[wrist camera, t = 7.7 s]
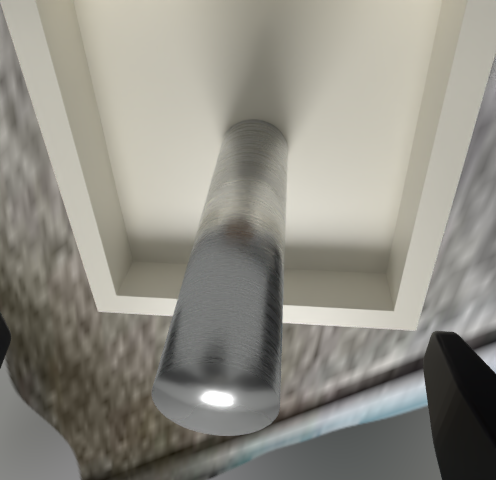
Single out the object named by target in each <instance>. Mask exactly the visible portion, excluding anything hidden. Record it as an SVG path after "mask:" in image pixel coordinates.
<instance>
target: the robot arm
mask: <svg viewBox="0 0 496 480" xmlns="http://www.w3.org/2000/svg"><path fill="white" fill-rule="evenodd" d="M10 341H11V333H10V330H9V328H8V326H7V324H6V322H5V320H4V318H3V316H2V314H1V312H0V368H1V365H2V363H3V360H4V358H5V355H6V353H7V350H8V347H9V345H10ZM423 369H424V377H425V385H426V393H427V400H428V408H429V415H430V422H431V430H432V437H433V444H434V448H435V452H436V457H437V461H438V465H439V469H440V473H441V477H442V480H496V373H495V372H494V371H493V370H492V369H491V368H490V367H489V366H488V365H487V364H486V363H485V362H484V361H483V360H482V359H481V358H480V357H479V356H478V355H477V354H476V353H475V352H474V351H473V350H472V349H471V347H470V346H469V345H468V344H467V343H466V342H465V341H464V340H463V339H462V338H461V337H460V336H459V335H458V334H456V333H454V332H445V331H435V332H433V333H432V335H431V337H430V340H429V344H428V347H427V350H426V353H425V356H424V361H423Z"/></svg>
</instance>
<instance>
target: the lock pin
mask: <svg viewBox="0 0 496 480" xmlns="http://www.w3.org/2000/svg"><path fill="white" fill-rule="evenodd" d="M287 168H288V145H287V142H286V139H285V137H284V135H283V134H282V132H281V131H280V130H279V129H278V128H277V127H276V126H274V125H273V124H271V123H269V122H266V121H263V120H258V119H249V120H244V121H241V122H239V123H237V124H235V125H234V126H232V127H231V128H230V129H229V130H228V131H227V133H226V134H225V136H224V138H223V141H222V145H221V148H220V152H219V155H218V159H217V162H216V166H215V169H214V173H213V176H212V180H211V183H210V187H209V190H208V194H207V197H206V201H205V205H204V208H203V212H202V215H201V219H200V222H199V226H198V229H197V233H196V236H195V240H194V243H193V247H192V250H191V254H190V257H189V261H188V265H187V268H186V272H185V275H184V279H183V282H182V286H181V289H180V293H179V296H178V300H177V303H176V307H175V310H174V314H173V317H172V321H171V325H170V328H169V332H168V335H167V339H166V342H165V346H164V349H163V353H162V356H161V360H160V363H159V367H158V370H157V374H156V378H155V381H154V385H153V388H152V398H153V401H154V404H155V405H156V407H157V408H158V410H159V411H160V412H161V413H162V414H163V415H164V416H166V417H167V418H168V419H170V420H171V421H173V422H175V423H176V424H178V425H180V426H182V427H185V428H187V429H190V430H193V431H197V432H201V433H205V434H211V435H220V436H234V435H243V434H248V433H252V432H256V431H258V430H261V429H263V428H265V427H266V426H268V425H269V424H271V423H272V422H273V421H274V420H275V418H276V417H277V415H278V413H279V409H280V384H281V353H282V322H283V292H284V261H285V230H286V199H287Z"/></svg>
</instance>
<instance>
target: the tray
mask: <svg viewBox="0 0 496 480" xmlns="http://www.w3.org/2000/svg"><path fill="white" fill-rule="evenodd" d="M0 3H1V6H2V9H3V12H4V15H5V18H6V22H7V25H8V28H9V31H10V34H11V37H12V41H13V44H14V47H15V50H16V53H17V56H18V59H19V63H20V66H21V69H22V72H23V75H24V78H25V82H26V85H27V88H28V91H29V94H30V97H31V101H32V104H33V107H34V110H35V113H36V116H37V120H38V123H39V126H40V129H41V132H42V135H43V139H44V142H45V145H46V148H47V151H48V154H49V158H50V161H51V164H52V167H53V170H54V173H55V177H56V180H57V183H58V186H59V189H60V192H61V196H62V199H63V202H64V205H65V208H66V211H67V214H68V218H69V221H70V224H71V227H72V230H73V233H74V237H75V240H76V243H77V246H78V249H79V252H80V256H81V259H82V262H83V265H84V268H85V271H86V275H87V278H88V281H89V284H90V287H91V290H92V294H93V297H94V300H95V303H96V306H97V309H98V312H112V313H129V314H146V315H162V316H173V314H174V310H175V307H176V303H177V300H178V296H179V293H180V289H181V286H182V282H183V279H184V275H185V272H186V268H187V265H188V261H189V257H190V254H191V250H192V247H193V243H194V240H195V236H196V233H197V229H198V226H199V222H200V219H201V215H202V212H203V208H204V205H205V201H206V197H207V194H208V190H209V187H210V183H211V180H212V176H213V173H214V169H215V166H216V162H217V159H218V155H219V152H220V148H221V145H222V141H223V138H224V136H225V134H226V133H227V131H228V130H229V129H230V128H231V127H232V126H234V125H235V124H237V123H239V122H241V121H244V120H249V119H258V120H263V121H266V122H269V123H271V124H273V125H274V126H276V127H277V128H278V129H279V130H280V131H281V132H282V134H283V135H284V137H285V139H286V142H287V145H288V168H287V199H286V230H285V261H284V292H283V322H282V323H295V324H312V325H329V326H345V327H362V328H378V329H395V330H412V331H416V329H417V325H418V322H419V318H420V315H421V311H422V308H423V304H424V301H425V297H426V294H427V290H428V287H429V283H430V280H431V276H432V273H433V270H434V266H435V263H436V259H437V256H438V252H439V249H440V245H441V242H442V238H443V235H444V231H445V228H446V224H447V221H448V217H449V214H450V210H451V207H452V203H453V200H454V196H455V193H456V190H457V186H458V183H459V179H460V176H461V172H462V169H463V165H464V162H465V158H466V155H467V151H468V148H469V144H470V141H471V137H472V134H473V130H474V127H475V123H476V120H477V116H478V113H479V110H480V106H481V103H482V99H483V96H484V92H485V89H486V85H487V82H488V78H489V75H490V71H491V68H492V64H493V61H494V57H495V54H496V0H0Z"/></svg>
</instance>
